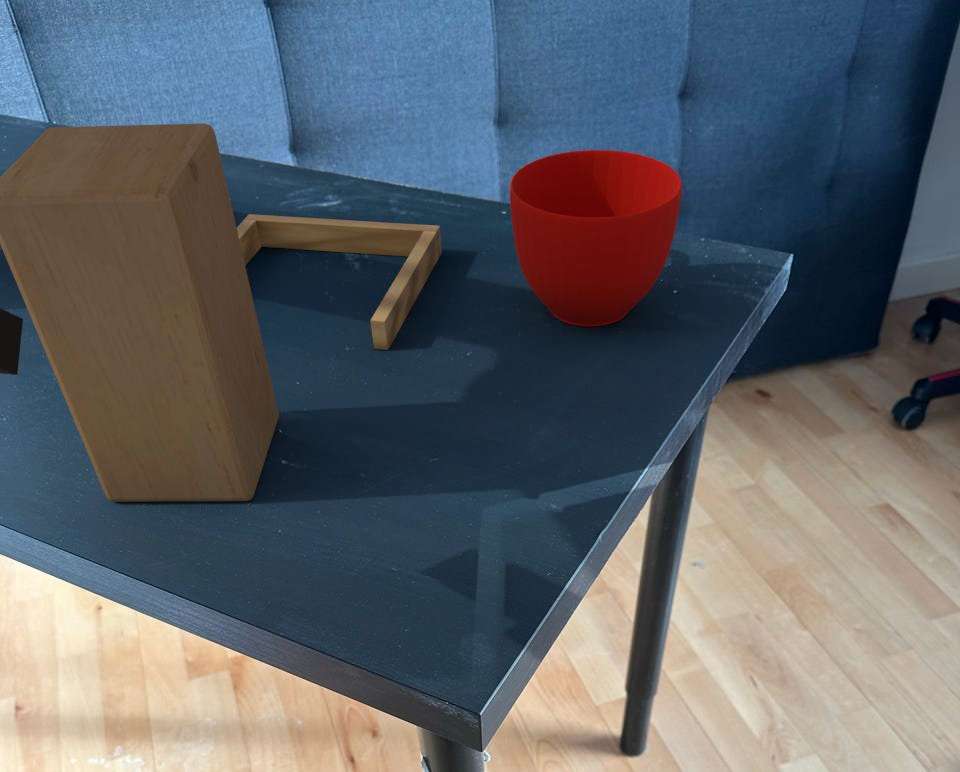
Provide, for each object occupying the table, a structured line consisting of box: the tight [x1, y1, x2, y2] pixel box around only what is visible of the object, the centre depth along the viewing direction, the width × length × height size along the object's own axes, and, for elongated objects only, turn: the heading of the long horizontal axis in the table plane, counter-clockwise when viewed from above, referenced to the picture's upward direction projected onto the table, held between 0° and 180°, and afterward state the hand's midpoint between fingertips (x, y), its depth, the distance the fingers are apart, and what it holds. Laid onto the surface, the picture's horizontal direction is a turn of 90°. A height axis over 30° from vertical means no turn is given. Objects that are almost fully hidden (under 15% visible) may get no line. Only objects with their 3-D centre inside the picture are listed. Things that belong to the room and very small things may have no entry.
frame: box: [236, 213, 443, 351], centre depth 80 cm, size 17×18×2 cm
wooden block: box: [0, 122, 280, 503], centre depth 58 cm, size 10×10×20 cm
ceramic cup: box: [509, 149, 683, 327], centre depth 75 cm, size 13×17×10 cm
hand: (6, 345), depth 45 cm, fingers closed
